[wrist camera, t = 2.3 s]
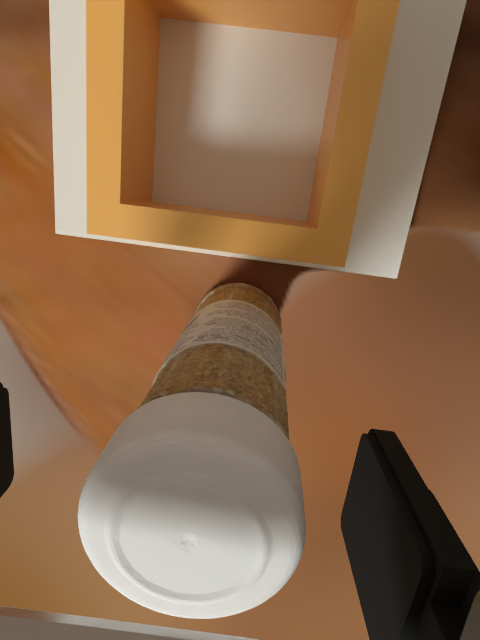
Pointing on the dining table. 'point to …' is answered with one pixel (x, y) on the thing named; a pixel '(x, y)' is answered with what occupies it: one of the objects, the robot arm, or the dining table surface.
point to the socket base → (248, 124)
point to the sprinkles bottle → (203, 471)
